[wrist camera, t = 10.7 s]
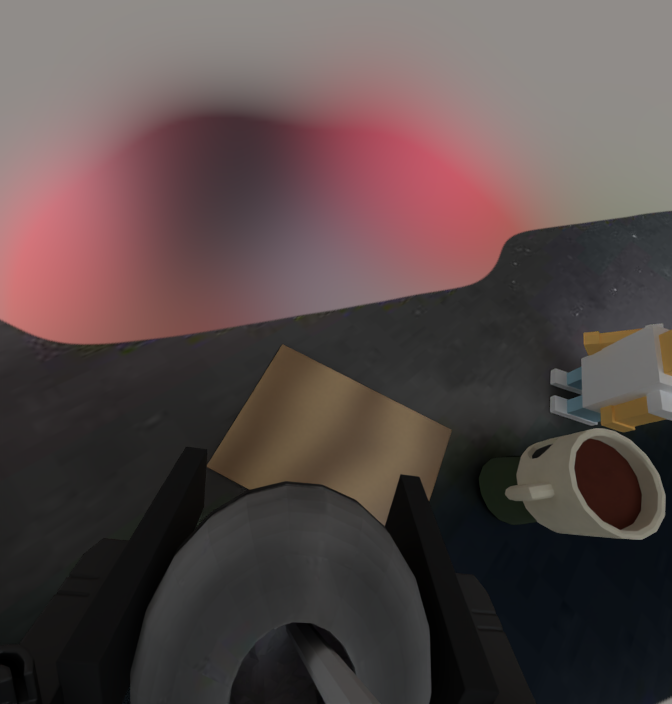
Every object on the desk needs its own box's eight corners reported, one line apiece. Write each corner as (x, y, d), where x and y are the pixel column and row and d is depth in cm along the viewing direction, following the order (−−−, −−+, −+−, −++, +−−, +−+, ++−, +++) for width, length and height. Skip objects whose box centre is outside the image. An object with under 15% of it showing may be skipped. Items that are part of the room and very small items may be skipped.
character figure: (569, 447, 38) (787, 404, 22) (522, 362, 42) (678, 270, 25) (621, 426, 40) (855, 372, 24) (571, 347, 44) (746, 252, 27)
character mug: (539, 447, 38) (657, 420, 26) (564, 520, 35) (709, 526, 23) (445, 459, 36) (528, 436, 24) (465, 538, 33) (569, 555, 21)
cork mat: (207, 467, 32) (206, 466, 32) (282, 346, 38) (282, 344, 37) (404, 572, 31) (406, 573, 30) (450, 430, 37) (452, 430, 36)
